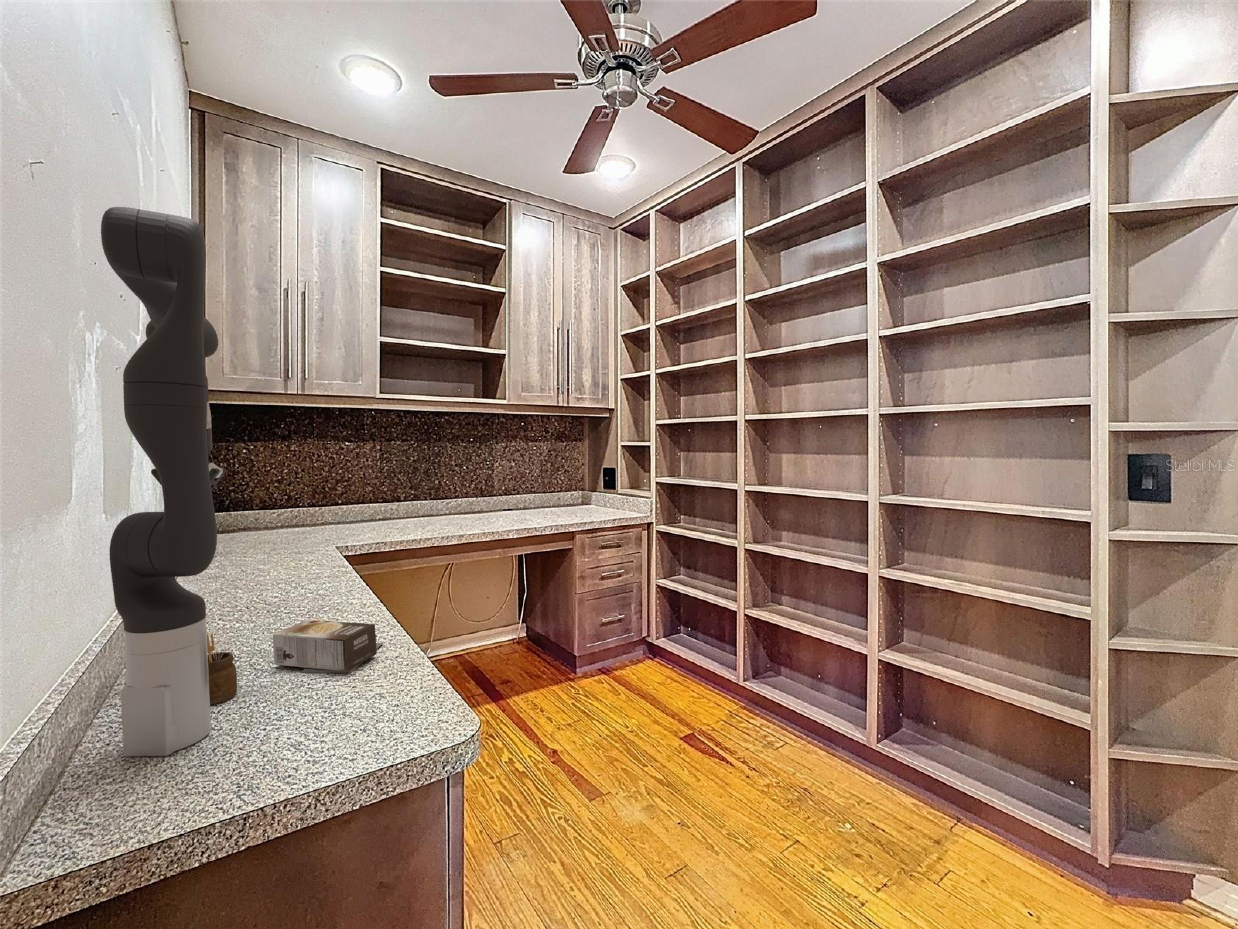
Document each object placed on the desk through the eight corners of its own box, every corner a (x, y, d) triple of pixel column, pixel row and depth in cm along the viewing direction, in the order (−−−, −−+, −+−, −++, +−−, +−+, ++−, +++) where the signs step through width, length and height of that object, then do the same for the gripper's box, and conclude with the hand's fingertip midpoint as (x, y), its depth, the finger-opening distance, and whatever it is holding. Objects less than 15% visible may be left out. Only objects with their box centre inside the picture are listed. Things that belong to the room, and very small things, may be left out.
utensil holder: (241, 687, 98) (239, 620, 98) (231, 703, 92) (228, 632, 92) (201, 693, 96) (198, 625, 96) (188, 710, 90) (184, 637, 90)
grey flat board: (351, 672, 104) (350, 670, 104) (302, 673, 104) (302, 670, 104) (382, 645, 118) (382, 642, 118) (340, 645, 118) (340, 643, 118)
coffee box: (307, 618, 115) (376, 622, 112) (309, 648, 115) (378, 654, 112) (271, 633, 106) (345, 639, 103) (272, 666, 106) (346, 673, 103)
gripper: (134, 425, 102) (139, 520, 102) (207, 425, 101) (211, 520, 102) (167, 426, 109) (171, 515, 110) (235, 426, 109) (239, 514, 110)
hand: (190, 517), depth 106 cm, fingers closed
